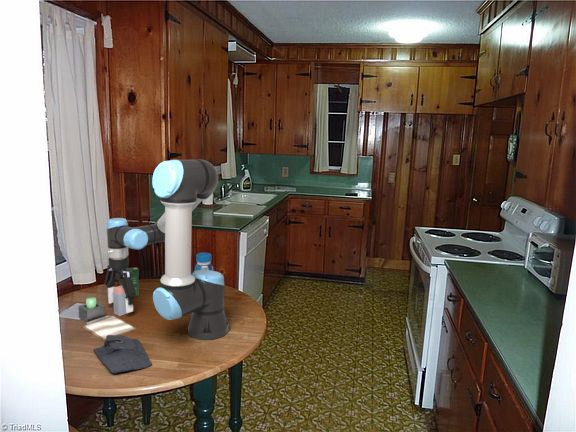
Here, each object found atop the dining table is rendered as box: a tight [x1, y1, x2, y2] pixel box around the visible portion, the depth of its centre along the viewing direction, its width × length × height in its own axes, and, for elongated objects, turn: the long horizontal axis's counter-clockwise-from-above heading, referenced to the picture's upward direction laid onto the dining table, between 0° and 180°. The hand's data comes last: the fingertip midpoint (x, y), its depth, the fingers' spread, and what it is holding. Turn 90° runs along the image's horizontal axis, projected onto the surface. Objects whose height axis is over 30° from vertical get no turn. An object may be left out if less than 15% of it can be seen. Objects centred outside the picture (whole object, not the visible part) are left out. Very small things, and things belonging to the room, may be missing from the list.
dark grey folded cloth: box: [93, 334, 153, 374], centre depth 141 cm, size 15×22×5 cm
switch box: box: [78, 301, 106, 323], centre depth 169 cm, size 7×7×5 cm
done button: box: [85, 296, 97, 309], centre depth 169 cm, size 4×4×5 cm
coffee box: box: [118, 267, 140, 297], centre depth 191 cm, size 8×3×13 cm, turn 119°
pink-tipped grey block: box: [113, 286, 128, 317], centre depth 174 cm, size 4×4×11 cm
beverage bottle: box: [194, 252, 214, 271], centre depth 193 cm, size 8×8×20 cm
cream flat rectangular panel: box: [80, 314, 138, 342], centre depth 161 cm, size 17×13×1 cm
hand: (120, 307), depth 174 cm, fingers open, 13 cm apart
